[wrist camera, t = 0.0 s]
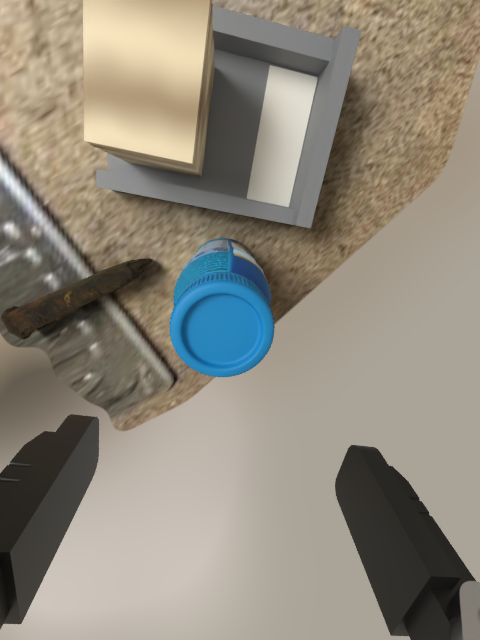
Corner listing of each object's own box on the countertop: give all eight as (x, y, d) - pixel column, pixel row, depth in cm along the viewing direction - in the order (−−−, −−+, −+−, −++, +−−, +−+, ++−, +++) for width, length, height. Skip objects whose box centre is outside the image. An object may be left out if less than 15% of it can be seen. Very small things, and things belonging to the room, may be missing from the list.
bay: (115, 6, 27) (86, -48, 21) (335, 65, 29) (361, 30, 24) (111, 189, 32) (87, 185, 27) (296, 225, 35) (310, 228, 29)
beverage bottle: (196, 228, 34) (165, 250, 16) (263, 245, 36) (308, 284, 17) (184, 294, 37) (145, 378, 19) (246, 308, 38) (268, 400, 20)
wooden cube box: (130, 44, 27) (82, -44, 18) (215, 65, 28) (211, -8, 19) (126, 162, 30) (83, 141, 21) (201, 178, 31) (192, 164, 22)
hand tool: (35, 331, 38) (11, 346, 34) (15, 305, 37) (-12, 318, 32) (163, 278, 37) (155, 288, 32) (148, 249, 35) (138, 254, 31)
